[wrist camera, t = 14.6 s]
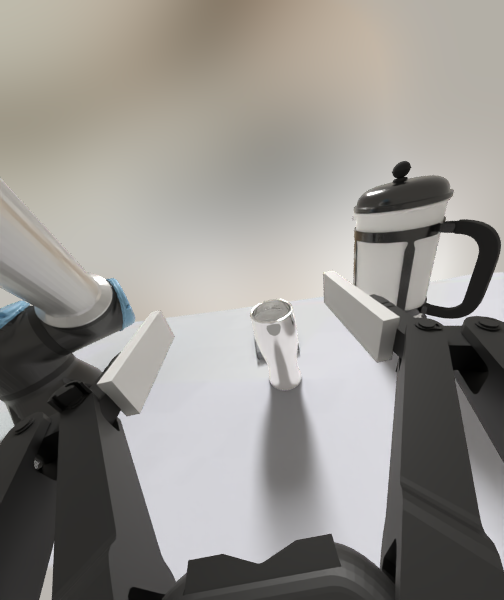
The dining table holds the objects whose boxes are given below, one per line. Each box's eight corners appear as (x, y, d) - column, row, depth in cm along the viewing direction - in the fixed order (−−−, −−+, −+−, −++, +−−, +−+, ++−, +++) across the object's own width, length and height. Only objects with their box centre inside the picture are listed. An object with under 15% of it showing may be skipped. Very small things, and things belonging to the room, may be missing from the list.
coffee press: (352, 345, 38) (356, 173, 24) (343, 304, 51) (343, 177, 37) (467, 349, 31) (560, 118, 18) (423, 301, 44) (458, 146, 31)
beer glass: (287, 356, 39) (275, 294, 32) (312, 378, 33) (304, 308, 27) (260, 374, 37) (241, 311, 30) (282, 401, 31) (264, 330, 24)
